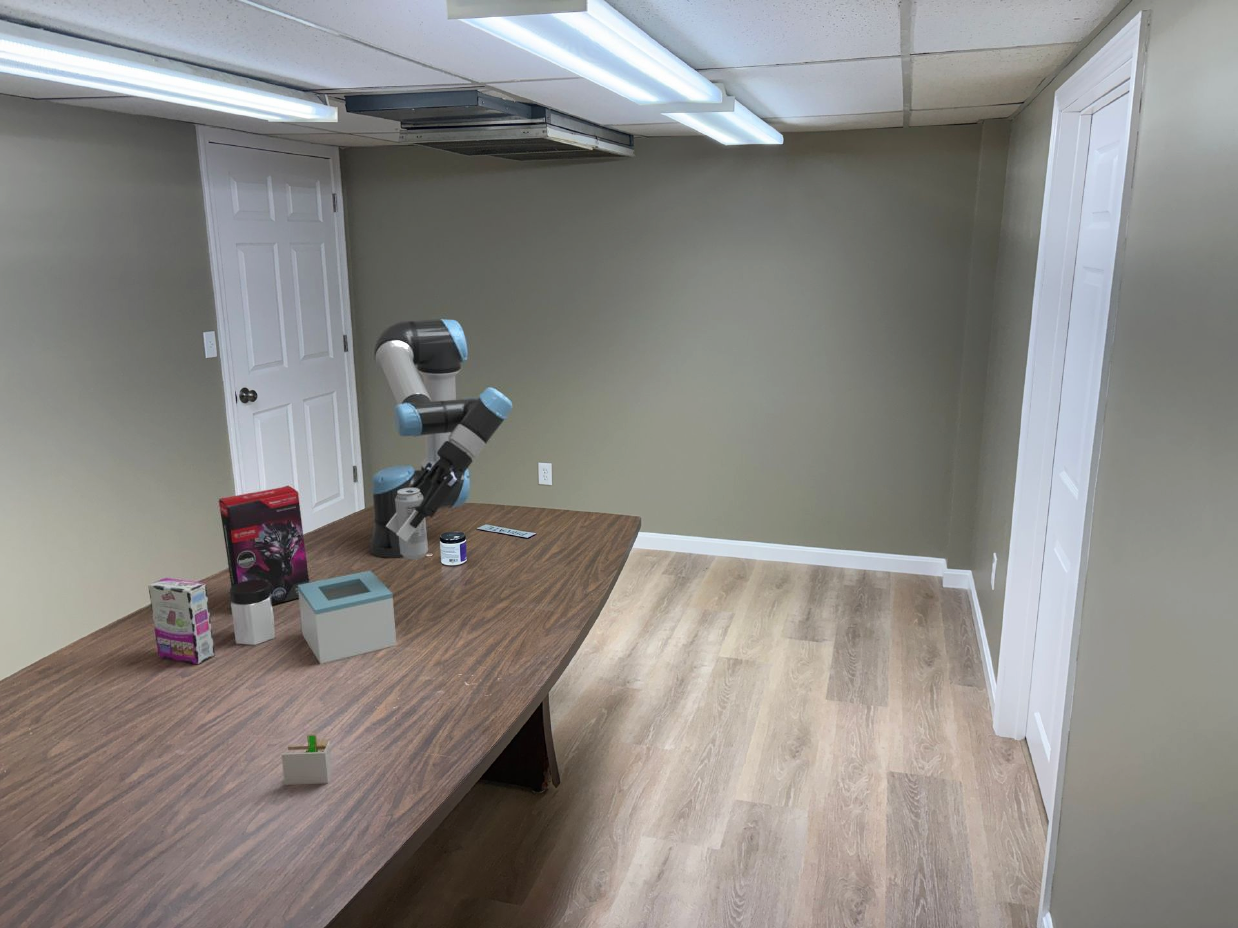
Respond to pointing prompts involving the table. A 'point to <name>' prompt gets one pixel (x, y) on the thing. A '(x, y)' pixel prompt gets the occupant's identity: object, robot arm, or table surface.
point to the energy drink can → (404, 508)
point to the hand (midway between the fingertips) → (396, 533)
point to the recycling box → (347, 616)
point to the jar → (252, 612)
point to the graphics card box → (266, 540)
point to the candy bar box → (182, 620)
